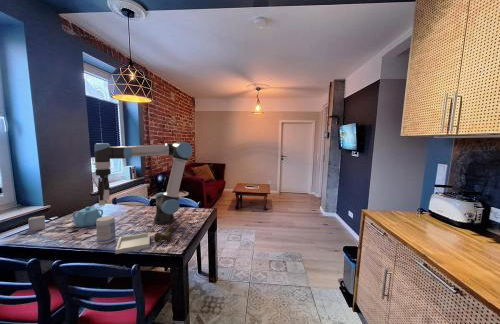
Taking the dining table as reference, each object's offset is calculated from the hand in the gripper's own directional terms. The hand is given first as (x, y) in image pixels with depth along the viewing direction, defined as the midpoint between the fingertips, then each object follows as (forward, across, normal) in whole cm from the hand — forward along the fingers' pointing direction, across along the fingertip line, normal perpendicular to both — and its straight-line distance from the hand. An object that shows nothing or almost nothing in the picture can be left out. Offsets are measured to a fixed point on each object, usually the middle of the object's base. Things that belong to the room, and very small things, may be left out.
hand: (104, 202), depth 125 cm
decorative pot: (+25, -36, -17) cm, 47 cm away
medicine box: (+25, -39, -47) cm, 66 cm away
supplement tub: (+25, 0, 0) cm, 25 cm away
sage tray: (+25, +12, +16) cm, 32 cm away
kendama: (+25, +12, +34) cm, 44 cm away
